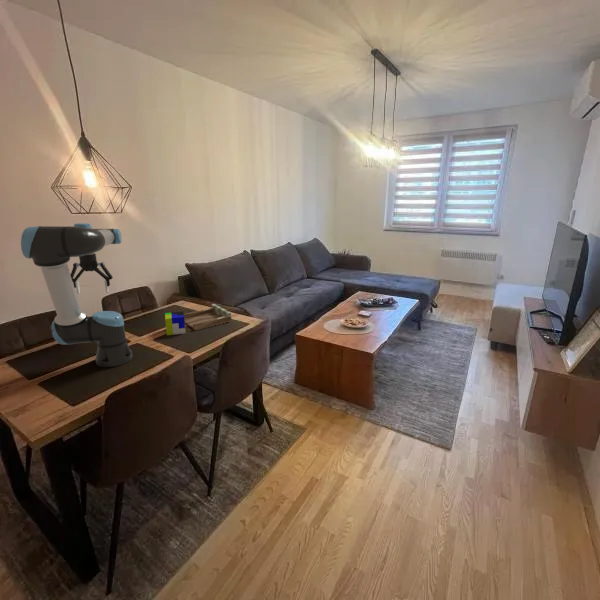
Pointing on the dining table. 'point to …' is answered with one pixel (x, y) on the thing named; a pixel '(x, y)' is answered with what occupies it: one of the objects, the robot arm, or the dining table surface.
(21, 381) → the dining table surface
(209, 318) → the board
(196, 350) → the dining table surface
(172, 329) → the puzzle toy
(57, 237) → the robot arm
